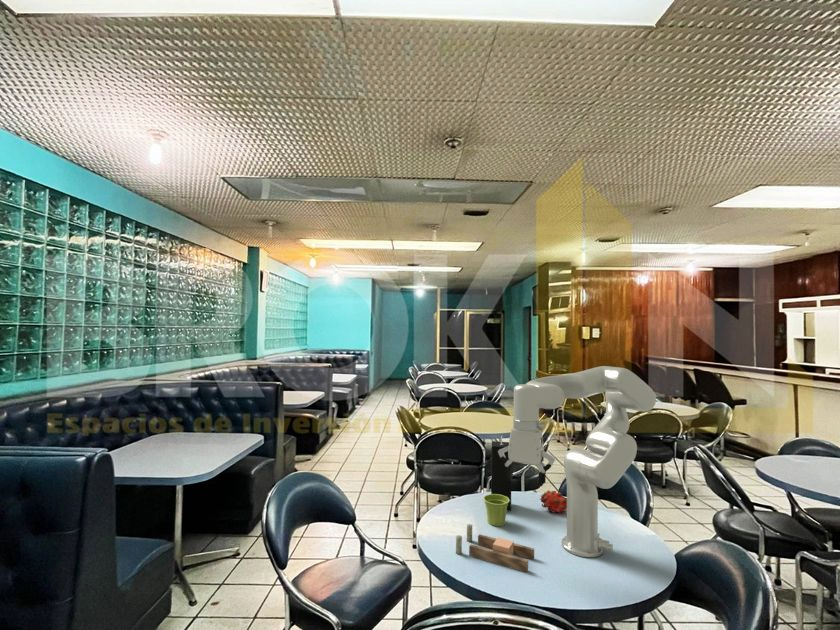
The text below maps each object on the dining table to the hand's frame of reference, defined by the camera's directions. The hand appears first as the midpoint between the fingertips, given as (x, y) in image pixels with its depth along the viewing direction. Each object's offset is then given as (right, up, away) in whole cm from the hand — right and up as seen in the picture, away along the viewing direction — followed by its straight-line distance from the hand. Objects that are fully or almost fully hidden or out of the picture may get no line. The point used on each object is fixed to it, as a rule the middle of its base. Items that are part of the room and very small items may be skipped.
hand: (525, 481), depth 129 cm
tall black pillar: (0, -26, +41) cm, 48 cm away
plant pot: (-4, -25, +26) cm, 37 cm away
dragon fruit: (+21, -26, +37) cm, 50 cm away
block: (-7, -24, +2) cm, 25 cm away
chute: (-9, -24, +3) cm, 26 cm away
